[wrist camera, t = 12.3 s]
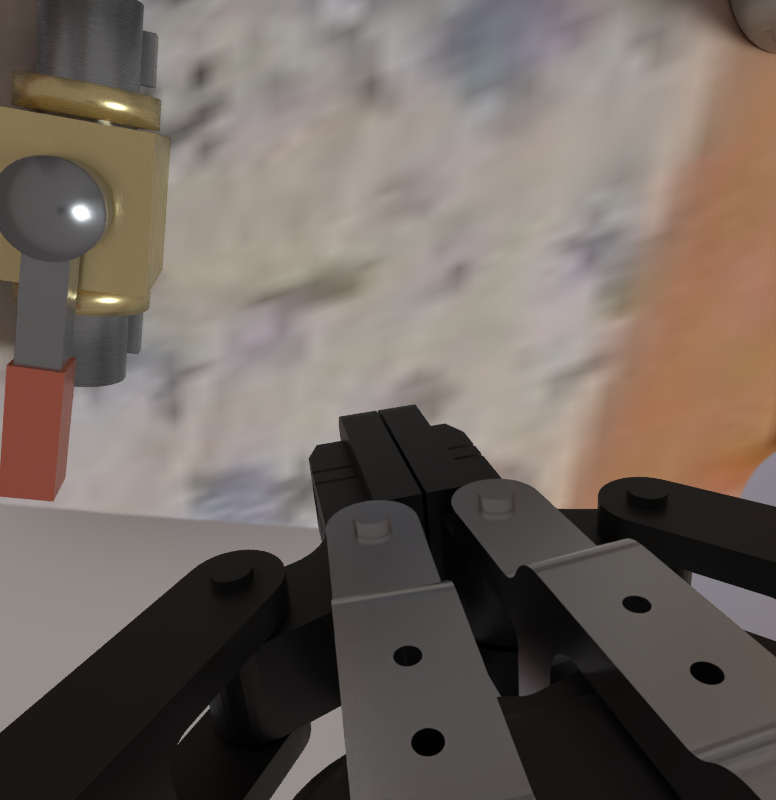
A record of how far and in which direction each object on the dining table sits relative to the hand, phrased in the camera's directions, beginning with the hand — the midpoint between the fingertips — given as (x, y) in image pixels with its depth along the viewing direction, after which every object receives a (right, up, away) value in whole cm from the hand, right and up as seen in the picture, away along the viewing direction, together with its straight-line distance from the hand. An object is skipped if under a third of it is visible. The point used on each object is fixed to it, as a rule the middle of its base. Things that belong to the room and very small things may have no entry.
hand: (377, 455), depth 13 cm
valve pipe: (-15, +12, +23) cm, 30 cm away
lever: (-15, +4, +17) cm, 23 cm away
